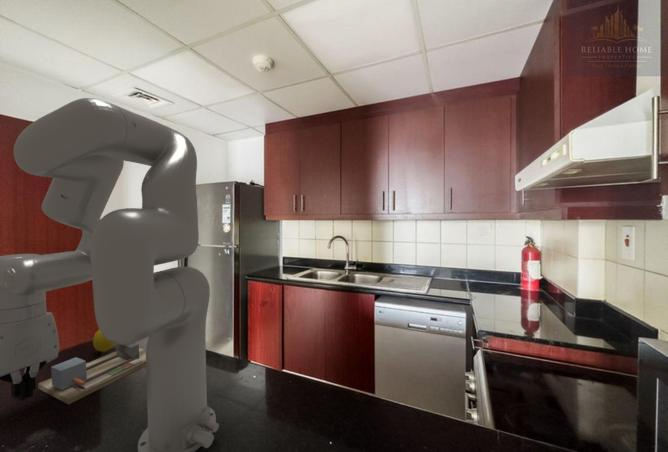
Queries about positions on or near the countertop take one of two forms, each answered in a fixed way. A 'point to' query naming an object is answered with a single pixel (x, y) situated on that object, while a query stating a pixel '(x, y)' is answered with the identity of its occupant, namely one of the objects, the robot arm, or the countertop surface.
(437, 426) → the countertop surface
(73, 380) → the slider block with pointer
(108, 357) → the gauge board
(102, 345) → the lemon
